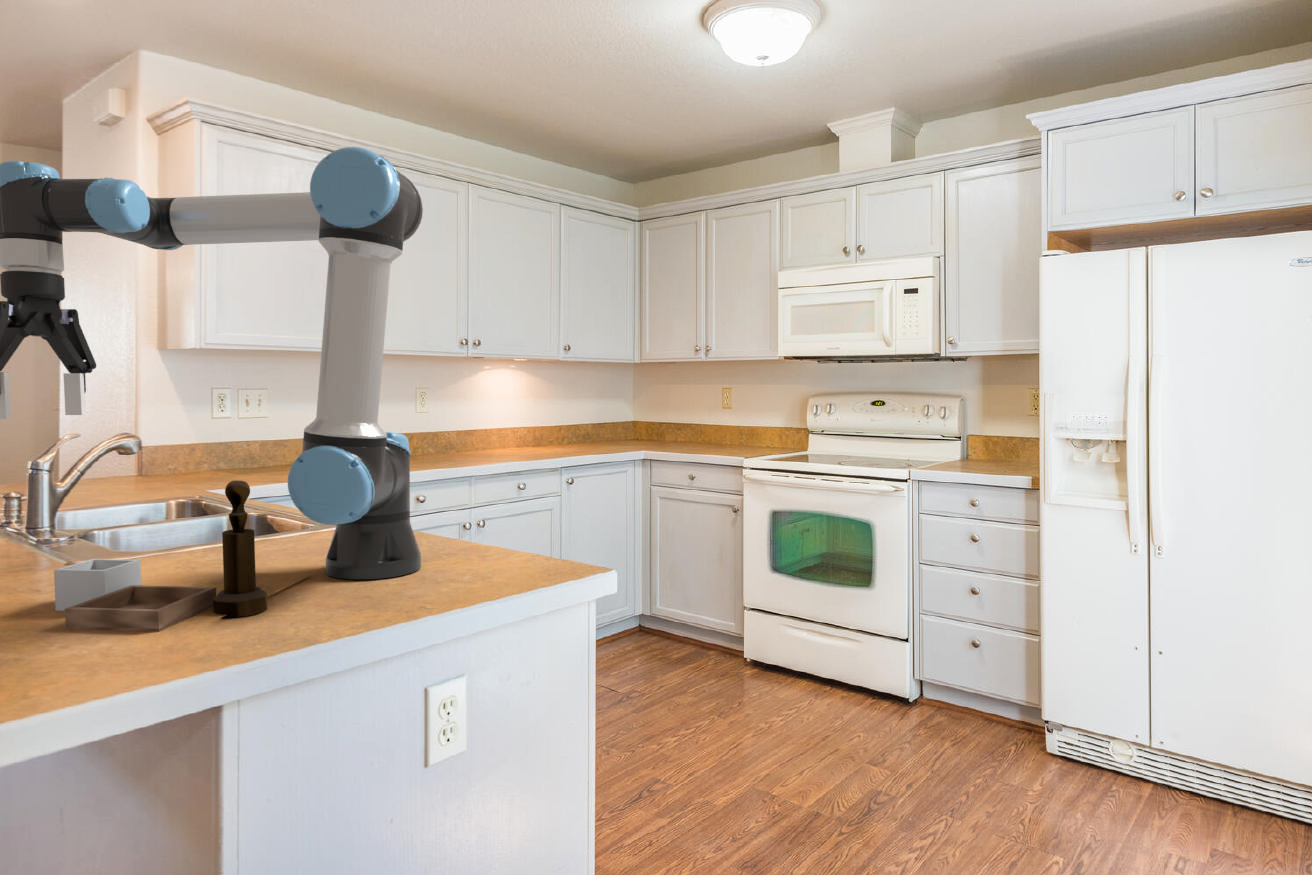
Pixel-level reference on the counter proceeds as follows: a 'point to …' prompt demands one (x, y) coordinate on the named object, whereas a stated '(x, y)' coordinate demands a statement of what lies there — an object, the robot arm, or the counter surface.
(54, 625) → the counter surface
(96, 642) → the counter surface
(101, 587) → the grey tub
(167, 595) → the walnut tray
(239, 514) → the brown wooden tall piece
